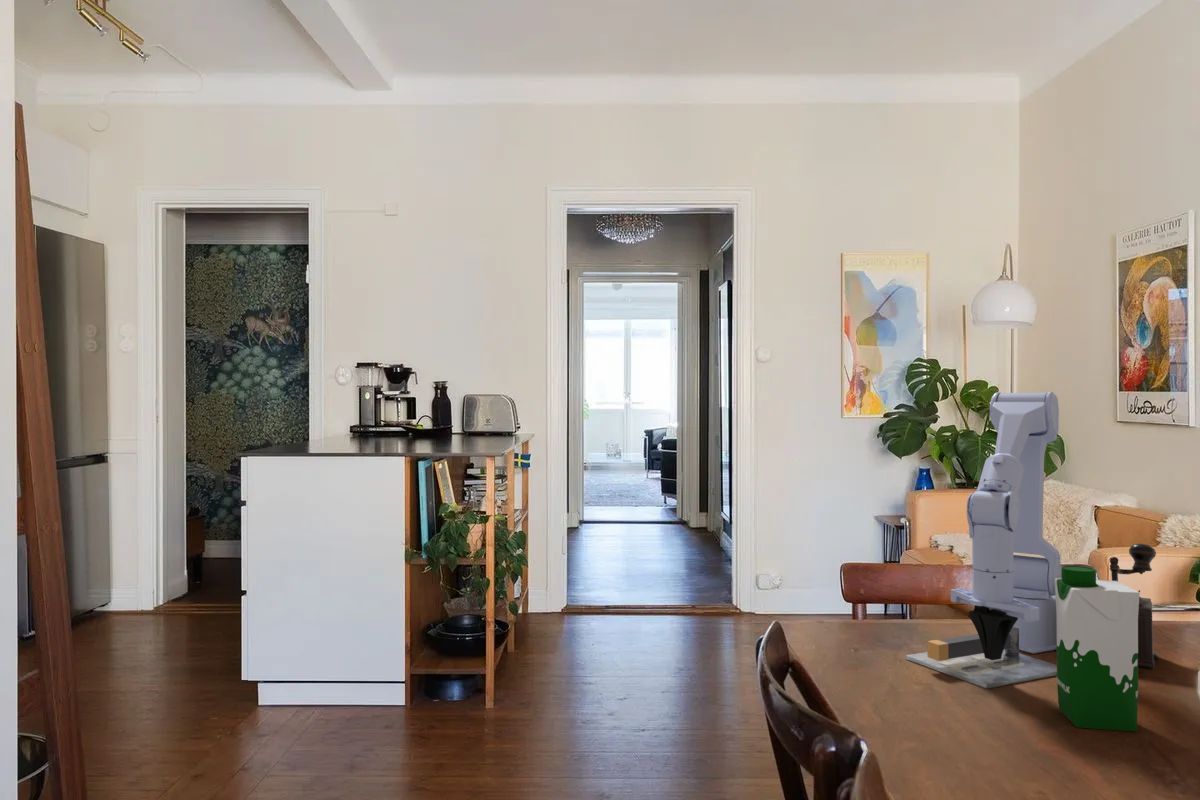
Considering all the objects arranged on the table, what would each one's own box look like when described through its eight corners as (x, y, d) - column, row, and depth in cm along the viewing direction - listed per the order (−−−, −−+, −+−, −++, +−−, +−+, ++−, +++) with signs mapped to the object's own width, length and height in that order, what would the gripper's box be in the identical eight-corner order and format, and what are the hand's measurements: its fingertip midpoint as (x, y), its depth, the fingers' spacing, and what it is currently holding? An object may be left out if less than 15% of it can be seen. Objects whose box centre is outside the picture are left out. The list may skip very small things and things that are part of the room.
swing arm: (998, 645, 139) (998, 630, 139) (1010, 649, 137) (1010, 633, 137) (927, 657, 133) (927, 641, 133) (938, 661, 131) (938, 645, 131)
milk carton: (1049, 706, 117) (1048, 561, 117) (1121, 710, 115) (1120, 564, 115) (1071, 729, 108) (1070, 574, 109) (1149, 735, 107) (1148, 576, 107)
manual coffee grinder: (1158, 671, 133) (1158, 556, 133) (1078, 659, 139) (1077, 550, 139) (1156, 647, 146) (1156, 543, 146) (1083, 637, 152) (1082, 537, 152)
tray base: (984, 646, 146) (984, 617, 146) (1069, 672, 132) (1069, 640, 132) (905, 659, 139) (905, 628, 139) (986, 688, 124) (986, 654, 124)
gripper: (936, 563, 134) (936, 648, 134) (1015, 580, 121) (1015, 675, 121) (968, 560, 137) (969, 643, 137) (1048, 576, 124) (1049, 669, 124)
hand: (993, 658), depth 129 cm, fingers closed
